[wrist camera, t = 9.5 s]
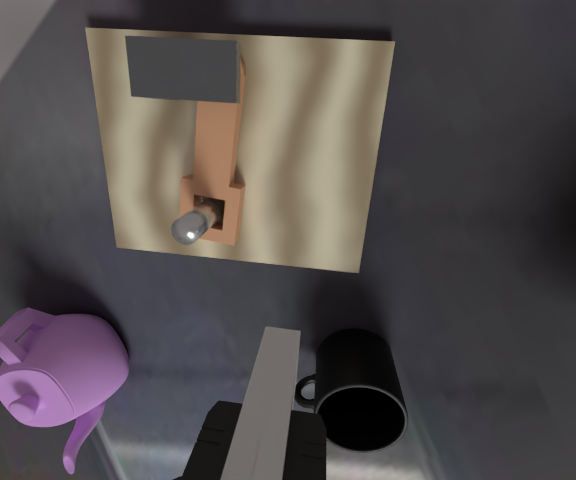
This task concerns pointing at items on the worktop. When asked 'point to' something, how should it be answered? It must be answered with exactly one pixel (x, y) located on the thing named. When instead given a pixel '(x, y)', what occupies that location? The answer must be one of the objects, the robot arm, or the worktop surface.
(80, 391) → the teapot
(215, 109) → the link
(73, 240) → the worktop surface
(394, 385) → the mug
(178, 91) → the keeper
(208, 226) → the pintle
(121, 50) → the board
